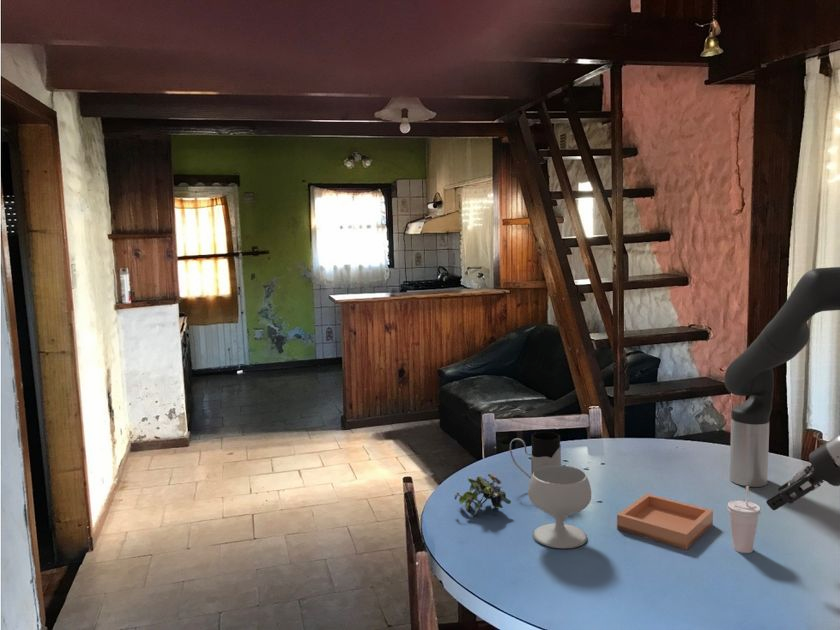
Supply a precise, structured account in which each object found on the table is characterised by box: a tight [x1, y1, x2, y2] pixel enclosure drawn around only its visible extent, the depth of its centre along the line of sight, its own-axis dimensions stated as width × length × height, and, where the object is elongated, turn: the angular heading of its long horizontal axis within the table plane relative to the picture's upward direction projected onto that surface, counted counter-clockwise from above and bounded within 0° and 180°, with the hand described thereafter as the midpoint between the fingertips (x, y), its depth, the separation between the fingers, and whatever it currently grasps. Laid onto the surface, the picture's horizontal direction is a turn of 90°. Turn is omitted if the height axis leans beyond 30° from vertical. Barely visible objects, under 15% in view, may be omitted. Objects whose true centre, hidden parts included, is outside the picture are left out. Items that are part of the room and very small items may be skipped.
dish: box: [616, 493, 714, 551], centre depth 151 cm, size 16×16×4 cm
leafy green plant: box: [453, 473, 512, 518], centre depth 162 cm, size 11×11×12 cm
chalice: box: [527, 464, 592, 549], centre depth 147 cm, size 14×14×15 cm
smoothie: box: [726, 486, 762, 554], centre depth 139 cm, size 6×6×14 cm
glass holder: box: [509, 431, 562, 480], centre depth 176 cm, size 9×14×15 cm, turn 71°
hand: (775, 499), depth 134 cm, fingers open, 8 cm apart
